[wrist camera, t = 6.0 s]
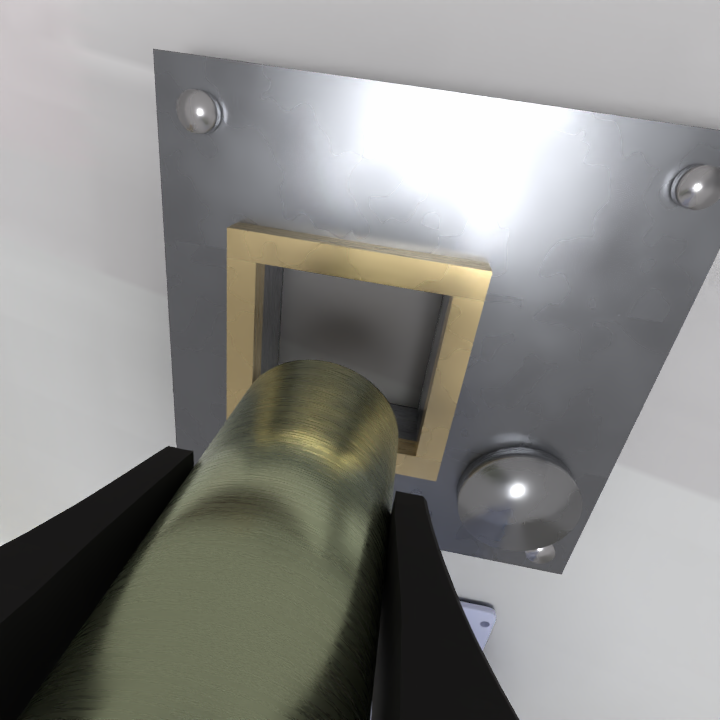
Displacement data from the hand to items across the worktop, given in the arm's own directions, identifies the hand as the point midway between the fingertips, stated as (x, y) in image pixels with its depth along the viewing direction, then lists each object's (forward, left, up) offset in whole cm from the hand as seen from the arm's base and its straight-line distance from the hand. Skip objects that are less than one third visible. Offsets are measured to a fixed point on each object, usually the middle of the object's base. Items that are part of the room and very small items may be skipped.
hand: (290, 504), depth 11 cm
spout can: (0, 0, -3) cm, 3 cm away
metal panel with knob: (0, -2, -10) cm, 11 cm away
